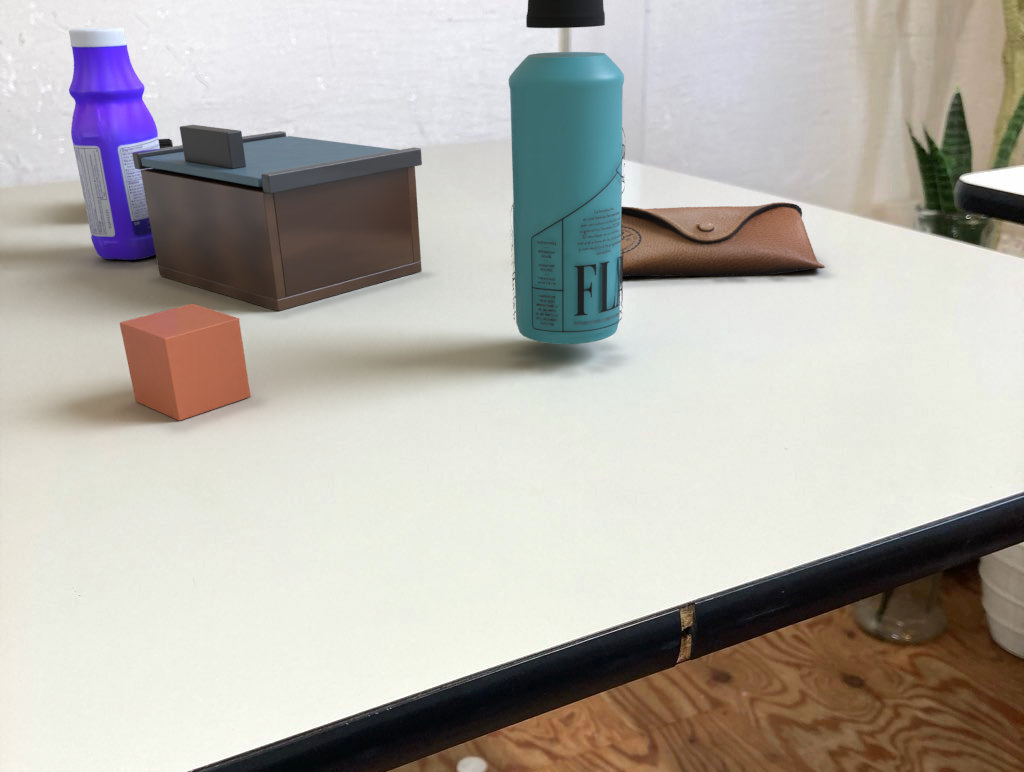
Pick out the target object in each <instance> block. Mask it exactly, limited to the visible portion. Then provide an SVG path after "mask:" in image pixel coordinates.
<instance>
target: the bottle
mask: <svg viewBox="0 0 1024 772" xmlns="http://www.w3.org/2000/svg"><path fill="white" fill-rule="evenodd" d="M68 33H69V39H70V47H71V51H72V58H73V73H72V80H71V82H70V86H69V88H68V92H69V93H68V94H69V95H70V97H72V99H73V100H74V109H73V112H72V113H73V114H72V119H71V128H70V130H71V131H70V134H71V141H72V145H73V151H74V155H75V159H76V166H77V170H78V177H79V180H80V187H81V192H82V196H83V202H84V206H85V212H86V215H87V220H88V227H89V232H90V235H91V236H90V239H91V243H92V244H93V248H94V249H95V252H96V254H97V255H98V256H99V257H100V258H102V259H105V260H121V261H136V260H137V261H138V260H143V259H147V258H151V257H153V256H156V253H155V247H154V242H153V236H152V231H151V225H150V220H149V214H148V209H147V203H146V198H145V192H144V187H143V181H142V176H141V170H139V169H135V166H134V161H133V155H132V153H133V152H139V151H145V150H152V149H159V148H160V146H159V140H158V139H159V132H158V128H157V127H158V126H157V124H156V122H155V118H154V117H153V115H152V113H151V112H150V110H149V109H148V107H147V105H146V103H145V102H144V100H143V96H144V92H145V90H146V89H145V85H144V83H143V82H142V81H141V79H140V78H139V76H138V74H137V73H136V71H135V69H134V67H133V65H132V62H131V59H130V54H129V49H128V44H127V40H126V34H125V29H124V28H123V27H89V28H88V27H87V28H74V29H73V28H72V29H69V30H68ZM148 169H151V168H148ZM142 170H144V169H142Z"/></svg>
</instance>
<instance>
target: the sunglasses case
mask: <svg viewBox="0 0 1024 772" xmlns="http://www.w3.org/2000/svg"><path fill="white" fill-rule="evenodd" d="M621 224H622V225H623V228H622V227H621V230H622V234H621V255H623V269H622V278H624V277H681V276H682V277H703V276H704V277H712V276H713V277H714V276H715V277H717V276H718V277H719V276H721V277H732V276H733V277H742V276H743V277H744V276H746V277H747V276H761V275H762V276H763V275H777V274H783V273H784V274H785V273H792V272H799V271H807V270H808V271H809V270H813V269H825V268H826V266H825V265H824V264H821V263H820V262H818V259H817V256H816V255H815V252H814V249H813V246H812V243H811V241H810V238H809V236H808V232H807V229H806V226H805V224H804V221H803V211H802V208H801V207H800V205H798V204H795V203H791V202H783V201H782V202H781V201H780V202H771V203H766V204H761V205H750V206H749V205H748V206H746V205H745V206H743V205H742V206H739V205H737V206H726V205H725V206H722V205H721V206H694V207H693V206H692V207H691V206H685V207H683V206H681V207H680V206H679V207H661V208H657V207H655V208H654V207H653V208H640V207H634V206H621ZM622 249H623V251H622ZM620 272H621V269H620Z"/></svg>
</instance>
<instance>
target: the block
mask: <svg viewBox="0 0 1024 772" xmlns="http://www.w3.org/2000/svg"><path fill="white" fill-rule="evenodd" d="M119 328H120V331H121V336H122V342H123V346H124V351H125V357H126V361H127V366H128V372H129V377H130V381H131V384H132V385H131V386H132V390H133V395H134V401H135V402H136V403H139V404H141V405H143V406H145V407H148V408H150V409H152V410H153V411H157V412H158V413H161V414H163V415H166V416H168V417H170V418H172V419H175V420H176V421H179V422H180V421H183V420H186V419H189V418H192V417H194V416H198V415H201V414H203V413H206V412H209V411H213V410H217V409H218V408H222V407H225V406H228V405H231V404H234V403H236V402H240V401H243V400H245V399H249V398H250V397H251V390H250V383H249V375H248V370H247V364H246V363H247V362H246V357H245V349H244V345H243V343H244V342H243V337H242V330H241V323H240V318H239V317H236V316H234V315H230V314H227V313H223V312H221V311H218V310H214V309H211V308H208V307H206V306H205V307H204V306H201V305H199V304H195V303H190V304H189V303H188V304H185V305H182V306H178V307H174V308H171V309H166V310H162V311H159V312H155V313H151V314H147V315H143V316H139V317H135V318H131V319H128V320H123V321H120V322H119Z"/></svg>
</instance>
